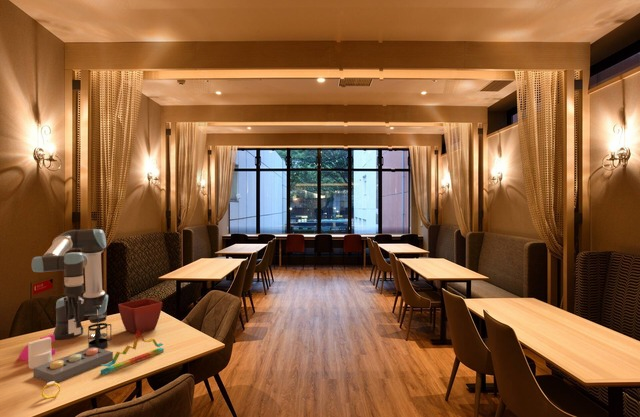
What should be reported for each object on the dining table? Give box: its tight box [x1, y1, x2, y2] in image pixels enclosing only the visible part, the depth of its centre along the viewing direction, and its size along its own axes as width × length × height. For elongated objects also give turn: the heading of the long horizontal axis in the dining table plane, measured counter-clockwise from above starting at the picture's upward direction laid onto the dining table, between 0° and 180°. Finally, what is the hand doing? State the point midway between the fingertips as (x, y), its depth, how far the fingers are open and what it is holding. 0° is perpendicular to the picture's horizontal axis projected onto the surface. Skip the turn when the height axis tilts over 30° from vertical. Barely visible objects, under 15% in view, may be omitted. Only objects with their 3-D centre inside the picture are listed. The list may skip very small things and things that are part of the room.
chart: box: [100, 330, 165, 376], centre depth 177 cm, size 30×3×15 cm, turn 148°
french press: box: [87, 305, 112, 350], centre depth 196 cm, size 12×9×23 cm
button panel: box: [32, 347, 114, 384], centre depth 171 cm, size 16×27×4 cm, turn 154°
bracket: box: [17, 333, 56, 362], centre depth 185 cm, size 12×10×10 cm
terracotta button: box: [85, 348, 98, 357], centre depth 178 cm, size 5×5×3 cm
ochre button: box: [50, 359, 64, 370], centre depth 164 cm, size 5×5×3 cm
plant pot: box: [118, 297, 163, 335], centre depth 224 cm, size 19×19×17 cm
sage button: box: [68, 353, 81, 363], centre depth 171 cm, size 5×5×3 cm
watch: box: [41, 381, 61, 400], centre depth 145 cm, size 6×3×6 cm, turn 120°
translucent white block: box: [27, 337, 53, 370], centre depth 175 cm, size 9×9×12 cm
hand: (74, 333), depth 171 cm, fingers open, 4 cm apart
